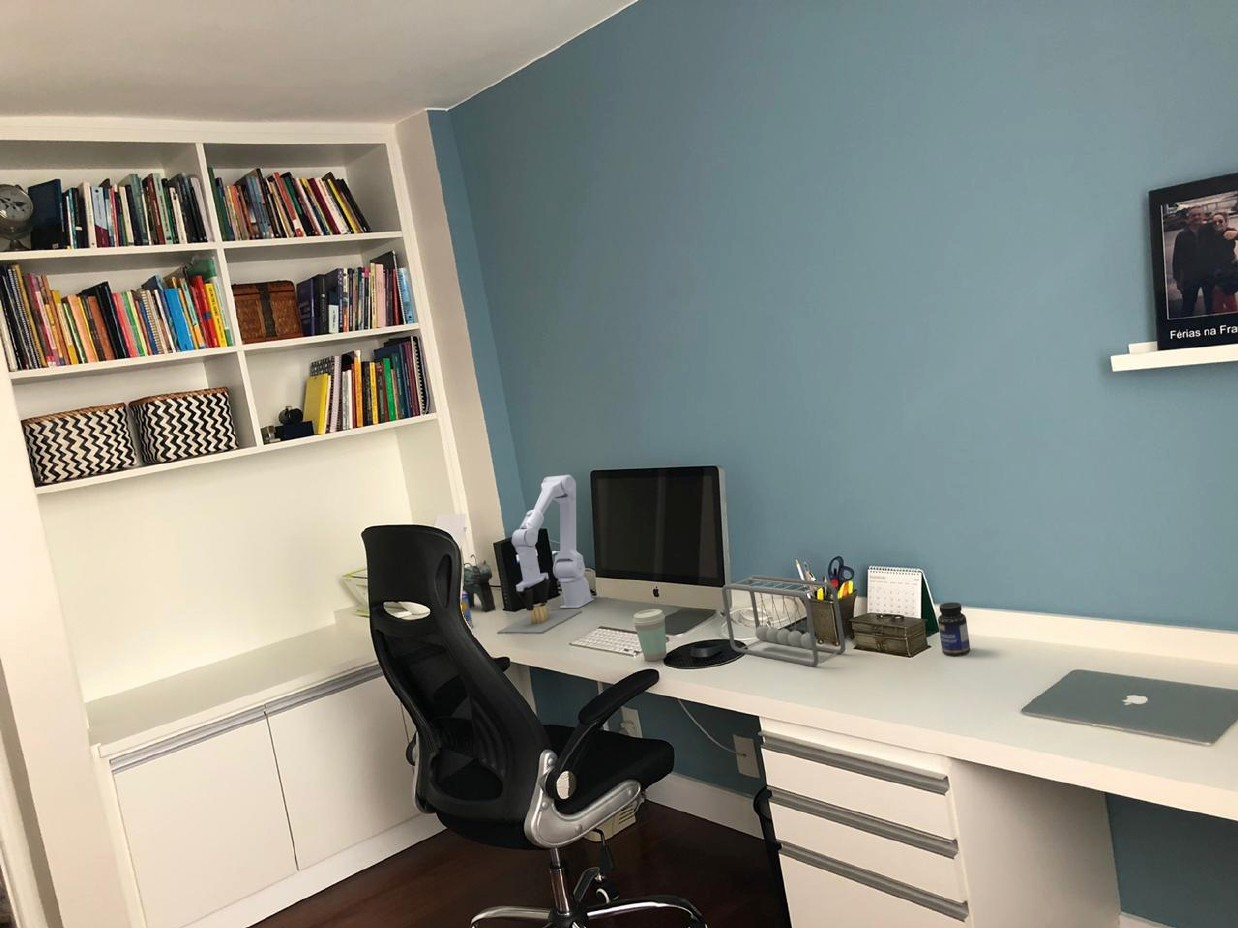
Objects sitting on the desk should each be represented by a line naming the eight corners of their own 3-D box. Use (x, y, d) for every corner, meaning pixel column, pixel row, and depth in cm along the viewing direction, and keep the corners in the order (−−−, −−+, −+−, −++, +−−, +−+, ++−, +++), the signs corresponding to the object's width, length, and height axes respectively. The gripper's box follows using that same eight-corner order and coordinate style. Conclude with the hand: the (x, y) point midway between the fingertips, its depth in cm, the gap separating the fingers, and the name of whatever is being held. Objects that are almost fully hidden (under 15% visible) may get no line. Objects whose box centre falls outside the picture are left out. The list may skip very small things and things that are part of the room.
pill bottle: (937, 654, 225) (930, 607, 224) (951, 646, 229) (945, 600, 228) (961, 658, 220) (954, 610, 219) (976, 649, 224) (969, 602, 223)
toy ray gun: (500, 609, 349) (490, 553, 347) (484, 614, 346) (473, 558, 344) (474, 603, 365) (463, 550, 363) (458, 608, 362) (448, 555, 360)
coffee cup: (676, 651, 263) (668, 607, 262) (664, 662, 255) (656, 617, 254) (647, 652, 266) (639, 609, 265) (634, 663, 259) (626, 618, 258)
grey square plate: (538, 612, 334) (534, 595, 333) (581, 611, 324) (578, 594, 323) (497, 633, 315) (493, 615, 315) (542, 633, 306) (538, 614, 305)
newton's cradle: (847, 654, 236) (836, 582, 235) (817, 668, 230) (805, 594, 229) (760, 639, 261) (749, 573, 259) (730, 651, 255) (719, 584, 253)
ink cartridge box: (444, 635, 325) (436, 592, 324) (442, 631, 331) (434, 589, 329) (474, 628, 328) (466, 585, 327) (471, 624, 333) (463, 582, 332)
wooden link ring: (538, 618, 323) (535, 603, 323) (552, 618, 320) (549, 603, 320) (528, 623, 319) (525, 608, 318) (541, 623, 316) (538, 608, 315)
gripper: (525, 571, 310) (533, 613, 311) (552, 559, 322) (560, 599, 323) (508, 572, 313) (516, 613, 315) (535, 560, 325) (542, 600, 327)
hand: (537, 606), depth 319 cm, fingers open, 7 cm apart
